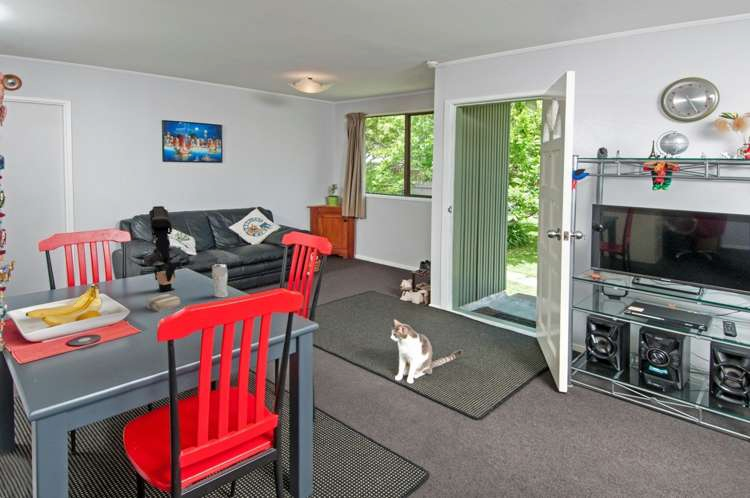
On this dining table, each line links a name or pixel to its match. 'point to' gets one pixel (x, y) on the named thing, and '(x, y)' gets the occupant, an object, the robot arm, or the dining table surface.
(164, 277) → the terracotta cube
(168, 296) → the birch block
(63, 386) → the dining table surface
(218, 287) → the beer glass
